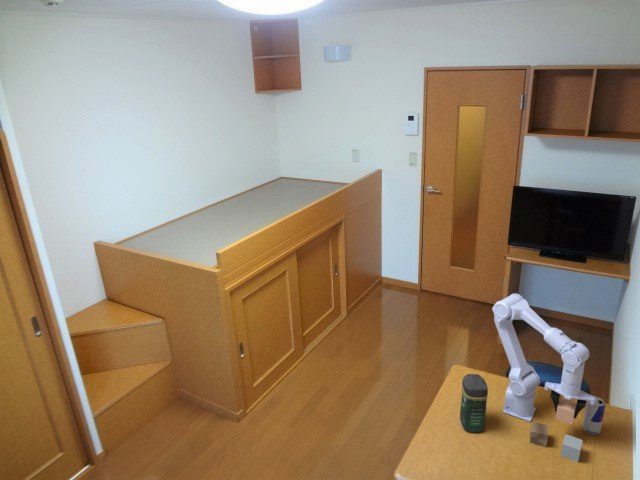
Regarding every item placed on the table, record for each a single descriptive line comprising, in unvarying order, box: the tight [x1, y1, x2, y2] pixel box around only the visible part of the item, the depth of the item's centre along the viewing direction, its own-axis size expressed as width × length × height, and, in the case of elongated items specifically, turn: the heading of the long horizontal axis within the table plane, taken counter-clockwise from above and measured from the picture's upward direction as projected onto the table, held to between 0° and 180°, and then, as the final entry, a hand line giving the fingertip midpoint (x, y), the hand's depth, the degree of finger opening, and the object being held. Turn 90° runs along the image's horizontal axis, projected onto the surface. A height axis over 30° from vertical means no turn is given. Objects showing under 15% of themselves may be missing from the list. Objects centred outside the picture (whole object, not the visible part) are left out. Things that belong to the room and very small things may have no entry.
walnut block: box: [529, 420, 549, 448], centre depth 161 cm, size 5×5×5 cm
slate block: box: [560, 434, 584, 463], centre depth 155 cm, size 5×5×5 cm
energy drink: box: [582, 395, 606, 436], centre depth 163 cm, size 5×5×12 cm
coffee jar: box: [459, 373, 489, 433], centre depth 167 cm, size 10×8×19 cm
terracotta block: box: [555, 397, 577, 425], centre depth 159 cm, size 5×5×5 cm
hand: (565, 413), depth 160 cm, fingers closed on terracotta block, 5 cm apart
